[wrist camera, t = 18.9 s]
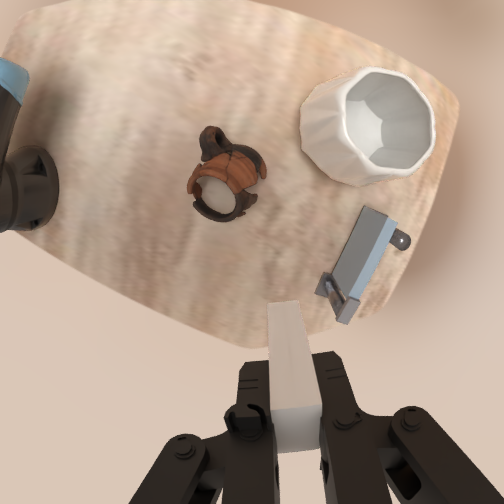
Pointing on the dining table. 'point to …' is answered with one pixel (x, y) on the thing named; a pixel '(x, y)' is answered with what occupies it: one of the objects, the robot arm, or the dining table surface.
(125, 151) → the dining table surface
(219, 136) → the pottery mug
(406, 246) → the post
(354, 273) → the gate
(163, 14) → the dining table surface
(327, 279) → the hinge post
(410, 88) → the vase
